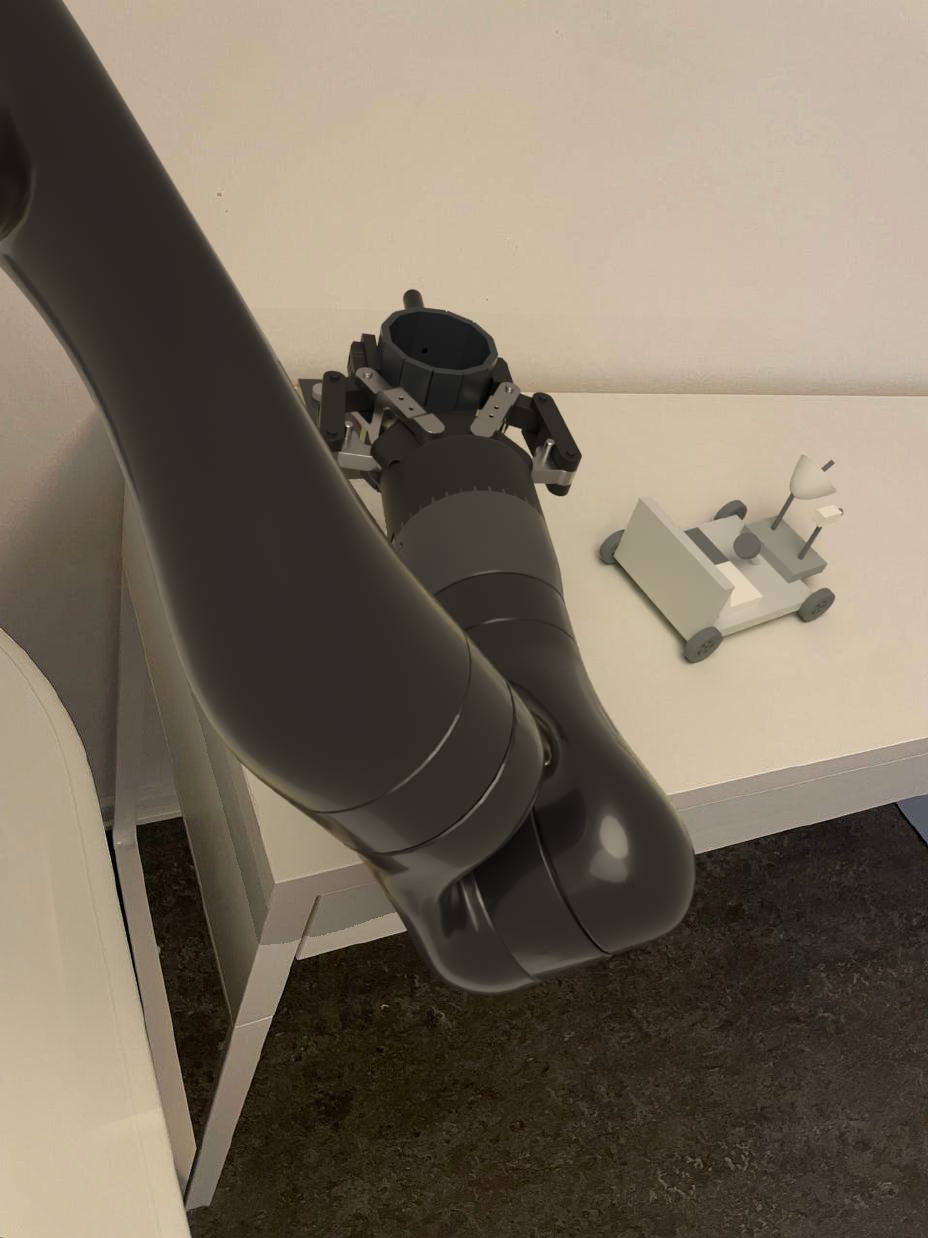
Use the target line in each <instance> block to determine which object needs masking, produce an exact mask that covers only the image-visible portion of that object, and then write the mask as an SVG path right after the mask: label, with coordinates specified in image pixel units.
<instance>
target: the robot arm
mask: <svg viewBox="0 0 928 1238" xmlns="http://www.w3.org/2000/svg"><path fill="white" fill-rule="evenodd" d="M0 269H1V270H2V271H3V272H4V273H5V274H6V276H7V277H8V278H9V279H10V280H11V281H12V282H13V283H14V284H15V287H17V288H18V289H19V291H20V292H21V293H22V294H23V296H24V297H25V298H26V299H27V301H28V302H29V303H30V304H31V306H32V307H33V308H34V309H35V311H36V312H37V313H38V315H40V317H41V318H42V320H43V321H44V323H45V324H46V326H47V327H48V329H49V330H50V332H52V334H53V336H54V337H55V338H56V340H57V341H58V343H59V344H60V346H61V348H63V351H64V352H65V354H66V356H67V357H68V359H69V360H70V362H71V364H72V366H73V367H74V369H75V370H76V372H77V374H78V375H79V377H80V379H81V381H82V382H83V384H84V386H85V388H86V390H87V392H88V395H89V397H90V399H91V400H92V403H93V405H94V406H95V408H96V410H97V411H96V412H97V413H98V415H99V417H100V419H101V421H102V424H103V427H104V430H105V431H106V435H107V437H108V439H109V442H110V445H111V447H112V449H113V453H114V455H115V458H116V460H117V463H118V465H119V468H120V471H121V473H122V476H123V478H124V481H125V483H126V486H127V490H128V493H129V496H130V499H131V503H132V507H133V510H134V512H135V516H136V519H137V522H138V523H137V524H138V525H139V529H140V532H141V535H142V538H143V543H144V546H145V549H146V553H147V557H148V560H149V564H150V565H149V566H150V568H151V571H152V576H153V579H154V583H155V587H156V590H157V594H158V597H159V601H160V605H161V607H162V610H163V614H164V618H165V621H166V623H167V626H168V630H169V634H170V637H171V640H172V643H173V647H174V650H175V652H176V656H177V659H178V662H179V665H180V667H181V669H182V672H183V674H184V677H185V680H186V682H187V684H188V686H189V689H190V690H191V693H192V695H193V696H194V699H195V700H196V701H195V702H197V705H198V707H199V708H200V710H201V711H202V713H203V715H204V716H205V718H206V719H207V722H209V724H210V725H211V727H212V729H213V730H214V732H215V733H216V735H217V736H218V737H219V739H220V740H221V742H222V743H223V744H224V745H225V746H226V747H227V749H228V750H229V751H230V752H231V754H232V755H233V756H234V757H235V758H236V760H237V761H238V762H239V763H240V764H241V765H242V766H243V767H244V768H246V770H248V771H249V772H250V773H251V774H252V775H253V776H254V777H255V778H256V779H257V780H259V781H260V782H261V783H263V784H264V786H266V787H268V788H269V789H271V791H273V792H274V793H276V794H277V795H278V796H279V797H281V798H282V799H283V800H285V801H286V802H287V803H288V804H290V805H291V806H292V807H294V808H295V809H296V810H298V811H299V812H301V814H303V815H304V816H306V817H307V818H308V819H310V821H312V822H313V823H315V824H316V825H317V826H319V827H320V828H321V829H323V830H324V831H325V832H327V833H328V834H329V835H330V836H332V837H333V838H335V839H336V840H337V841H339V842H340V843H341V844H343V845H344V846H345V847H347V848H348V849H350V850H351V851H353V852H354V853H355V854H356V855H357V856H358V857H359V859H360V860H361V862H362V863H363V865H364V866H365V868H366V869H367V871H368V872H369V873H370V875H371V876H372V877H373V879H374V881H375V882H376V884H377V885H378V886H379V888H380V889H381V891H382V893H383V894H384V896H385V897H386V898H387V900H388V902H389V903H390V905H391V907H392V908H393V909H394V911H395V912H396V914H397V915H398V918H399V919H400V921H401V922H402V924H403V926H404V928H405V929H406V931H407V934H408V935H409V937H410V939H411V941H412V943H413V945H414V947H415V949H416V951H417V952H418V954H419V957H420V958H421V959H422V961H423V963H424V964H425V965H426V967H427V968H428V969H429V971H430V972H431V974H432V975H434V976H435V977H436V978H438V980H439V981H440V982H441V983H443V984H445V985H447V986H449V987H450V988H452V989H455V990H456V991H460V992H463V993H466V994H470V995H477V996H483V997H497V996H498V997H501V996H506V995H511V994H514V993H518V992H522V991H524V990H526V989H529V988H532V987H536V986H537V985H540V984H543V983H545V982H547V981H551V980H553V979H556V978H559V977H561V976H564V975H566V974H567V975H568V973H572V972H575V971H577V970H580V969H582V968H585V967H588V966H590V965H593V964H595V963H598V962H601V961H603V960H607V959H609V958H611V957H613V956H617V955H620V954H623V953H626V952H629V951H632V950H634V949H637V948H640V947H642V946H645V945H648V944H650V943H653V942H655V941H657V940H659V939H661V938H663V937H665V936H667V935H668V934H669V933H672V932H673V930H674V929H676V928H677V927H678V926H679V925H680V924H681V923H682V921H683V920H684V918H685V917H686V915H687V913H688V912H689V909H690V906H691V903H692V900H693V898H694V894H695V888H696V883H697V859H696V852H695V848H694V844H693V841H692V838H691V834H690V833H689V830H688V828H687V826H686V823H685V822H684V820H683V817H682V816H681V814H680V813H679V811H678V810H677V808H676V806H675V805H674V804H673V802H672V800H671V799H670V796H668V794H667V792H665V790H664V789H663V787H662V786H661V785H660V783H659V782H658V780H657V779H656V778H655V777H654V775H653V774H652V773H651V771H650V770H649V769H648V767H647V766H646V765H645V764H644V762H643V761H642V760H641V759H640V757H639V756H638V754H637V753H636V752H635V751H634V749H633V748H632V747H631V745H630V744H629V743H628V741H627V740H626V739H625V737H624V736H623V735H622V733H621V732H620V730H619V729H618V728H617V726H616V724H615V722H614V721H613V720H612V717H610V714H609V713H608V712H607V709H606V708H605V706H604V705H603V703H602V701H601V699H600V696H599V695H598V693H597V691H596V689H595V687H594V685H593V682H592V681H591V678H590V676H589V673H588V672H587V671H588V670H587V669H586V666H585V663H584V660H583V657H582V654H581V651H580V647H579V644H578V640H577V637H576V635H575V631H574V628H573V625H572V621H571V618H570V614H569V612H568V608H567V605H566V600H565V595H564V586H563V578H562V573H561V566H560V564H559V560H558V557H557V553H556V550H555V547H554V546H555V545H554V543H553V540H552V537H551V533H550V530H549V527H548V524H547V521H546V518H545V515H544V511H543V508H542V505H541V502H540V498H539V494H538V492H537V489H536V486H535V485H537V484H538V485H539V484H540V485H541V484H544V485H545V487H546V490H547V491H548V492H549V493H550V494H552V495H554V496H556V497H566V496H567V495H568V494H569V492H570V489H571V487H572V484H573V481H574V479H575V477H576V473H577V471H578V468H579V465H580V463H581V460H582V458H583V455H582V452H581V451H580V448H579V447H578V445H577V442H576V441H575V439H574V437H573V435H572V433H571V431H570V429H569V427H568V425H567V423H566V421H565V419H564V417H563V415H562V413H561V411H560V409H559V407H558V406H557V404H556V402H555V399H554V398H553V396H551V395H550V394H548V393H546V392H543V391H537V392H534V393H533V394H532V396H529V395H526V394H523V393H521V392H522V391H521V388H520V387H519V386H518V385H517V384H515V383H514V380H513V377H512V374H511V371H510V368H509V365H508V362H507V361H506V360H505V359H504V357H500V356H498V358H497V362H496V365H495V368H494V372H493V375H492V379H491V382H490V386H489V389H488V393H487V396H486V400H485V403H484V407H483V409H482V410H481V412H480V414H479V415H478V416H475V415H474V412H472V411H462V410H457V411H442V410H438V409H434V408H430V407H421V406H420V405H419V404H418V403H417V402H416V401H415V400H414V399H413V398H412V397H411V396H410V395H409V394H408V393H407V392H406V391H405V390H404V389H403V388H402V387H400V386H397V387H393V388H392V387H391V386H390V385H389V384H388V383H387V382H386V381H385V380H384V379H383V378H382V377H381V376H380V374H381V364H380V362H379V357H378V351H377V345H378V341H377V337H376V334H372V333H365V332H362V333H361V336H360V340H359V341H358V340H353V341H352V342H351V344H350V346H349V351H348V359H347V365H346V370H347V376H346V375H345V374H344V373H342V372H341V371H338V370H328V371H327V370H326V371H325V372H324V373H323V374H322V379H323V380H322V392H321V399H320V404H319V407H318V413H317V425H316V424H315V422H314V420H313V418H312V417H311V415H310V413H309V412H308V410H307V408H306V406H305V405H304V403H303V401H302V400H301V398H300V396H299V394H298V393H297V388H296V387H295V386H294V384H293V382H292V380H291V378H290V377H289V375H288V373H287V371H286V369H285V367H284V365H283V364H282V362H281V360H280V358H279V357H278V355H277V354H276V352H275V350H274V348H273V346H272V345H271V342H270V341H269V339H268V337H267V336H266V334H265V332H264V331H263V329H262V327H261V325H260V324H259V322H258V320H257V319H256V317H255V315H254V313H253V312H252V310H251V308H250V307H249V305H248V304H247V302H246V300H245V298H244V297H243V295H242V294H241V292H240V290H239V289H238V286H237V285H236V283H235V282H234V280H233V278H232V276H231V274H230V273H229V272H228V270H227V268H226V267H225V265H224V263H223V262H222V260H221V258H220V257H219V255H218V253H217V251H216V250H215V248H214V247H213V245H212V244H211V242H210V241H209V239H208V237H207V236H206V234H205V232H204V230H203V229H202V227H201V225H200V224H199V222H198V220H197V219H196V217H195V215H194V214H193V212H192V211H191V209H190V207H189V206H188V204H187V202H186V200H185V199H184V197H183V195H182V194H181V192H180V191H179V189H178V187H177V186H176V184H175V182H174V181H173V179H172V177H171V175H170V174H169V172H168V170H167V168H166V167H165V165H164V164H163V162H162V160H161V158H160V157H159V155H158V153H157V152H156V150H155V148H154V147H153V145H152V143H151V142H150V140H149V138H148V136H147V135H146V134H145V132H144V130H143V128H142V126H141V125H140V123H139V121H138V120H137V118H136V117H135V115H134V113H133V112H132V110H131V109H130V107H129V105H128V104H127V102H126V100H125V99H124V97H123V95H122V94H121V91H120V90H119V89H118V87H117V86H116V84H115V82H114V81H113V79H112V77H111V75H110V74H109V73H108V71H107V69H106V68H105V65H104V64H103V62H102V61H101V59H100V57H99V56H98V54H97V52H96V50H95V49H94V48H93V45H92V44H91V42H90V41H89V39H88V37H87V36H86V34H85V32H84V31H83V30H82V28H81V26H80V25H79V24H78V22H77V21H76V19H75V17H74V15H73V14H72V12H71V11H70V10H69V8H68V6H67V5H66V3H65V1H64V0H0ZM374 404H375V406H374ZM350 412H351V414H352V415H353V416H354V417H355V418H356V419H357V420H358V421H359V422H360V423H361V424H362V425H363V426H364V427H365V429H366V430H367V431H368V434H369V439H370V442H371V444H372V446H369V445H366V444H364V443H362V442H361V441H360V439H359V437H358V434H357V433H356V432H355V431H353V426H354V424H353V423H352V422H351V421H345V413H350ZM510 427H512V428H516V429H520V433H521V435H522V437H523V439H524V442H525V444H526V446H527V448H528V450H529V451H528V452H529V453H530V454H529V453H528V452H527V450H525V449H524V448H523V447H521V446H520V445H519V444H517V443H516V442H515V441H513V440H512V439H511V438H510V437H508V435H506V434H507V432H508V430H509V429H510ZM341 467H342V468H349V469H356V470H363V471H368V474H369V476H370V478H371V479H372V480H373V481H374V482H375V483H376V484H377V485H378V487H379V488H380V491H381V493H380V496H381V504H382V511H383V517H384V522H385V529H386V533H385V531H384V530H383V529H382V527H381V526H380V524H379V523H378V522H377V520H376V518H375V517H374V516H373V514H372V513H371V512H370V510H369V509H368V507H367V505H366V504H365V502H364V501H363V499H362V497H361V496H360V495H359V493H358V492H357V490H356V489H355V487H354V485H353V483H352V482H351V481H350V478H347V476H346V475H345V473H344V471H343V470H342V468H341Z"/></svg>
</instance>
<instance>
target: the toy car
mask: <svg viewBox="0 0 928 1238" xmlns="http://www.w3.org/2000/svg"><path fill="white" fill-rule="evenodd" d="M835 464H836V463H835V461H834V460H833V459H830V460H829V461H828V462H827V463H826V464H824V465H823V466H822V467H820V466H819V465H818V464H817V463H816V462H815V460H813V459H812V458H811V457H809V456H808V455H806V454H803V453H801V455H800V457H799V459H798V461H797V463H796V465H795V466H794V469H793V471H792V473H791V474H792V475H791V477H790V481H789V492H790V494H789V495H788V497H787V500H786V501H785V502H784V504H783V506H782V508H781V510H780V511H779V513H778V515H774V516H770V517H767V518H763V519H759V520H756V521H752V522H749V523H745V522H744V519H745V518H746V516H747V513H748V507H747V506H746V504H745V503H743V502H742V501H741V500H740V499H734V500H731V501H728V502H727V503H726V504H725V505H723V506H722V507H721V508H720V509H719V510H718V511H717V512H716V514H715V515H714V517H713V520H711V521H707V522H703V523H700V524H696V525H692V526H688V527H684V528H681V527H680V526H679V525H678V524H677V523H676V521H674V519H673V518H672V517H671V516H670V515H669V514H668V513H667V512H666V511H665V510H664V509H663V508H662V507H661V506H660V504H658V502H657V501H656V500H655V499H654V497H652V496H651V495H650V494H648V495H644V496H641V497H639V498H638V500H637V502H636V503H635V506H634V509H633V511H632V513H631V515H630V517H629V520H628V522H627V523H626V526H625V529H624V528H623V529H619V530H617V531H615V532H613V533H611V534H610V535H608V537H607V538H606V539H604V541H603V542H602V543H601V545H600V547H599V549H598V555H599V557H600V558H601V559H602V561H603V562H604V563H605V564H607V565H615V564H617V563H619V565H620V566H621V567H622V568H623V569H624V570H625V571H626V572H627V574H628V575H629V576H630V577H631V578H632V580H633V581H634V582H635V583H636V584H637V586H638V587H639V588H640V589H641V590H642V591H643V593H645V595H646V596H647V598H649V599H650V600H651V602H652V603H653V604H654V605H655V606H656V607H657V608H658V610H659V611H660V612H661V613H662V614H663V615H664V616H665V618H666V619H667V620H668V621H669V622H670V623H671V625H672V626H673V627H674V628H675V629H676V631H677V632H678V633H679V634H680V635H681V636H682V637H683V638H684V640H685V641H686V644H684V647H683V649H682V650H683V655H684V656H685V658H686V659H687V660H688V661H689V662H691V663H698V662H701V661H703V660H705V659H707V658H708V657H710V656H711V655H712V654H713V653H715V651H717V649H718V648H719V646H721V644H722V642H723V638H724V637H726V636H729V635H732V634H734V633H737V632H740V631H742V630H746V629H749V628H752V627H755V626H757V625H760V624H763V623H766V622H769V621H771V620H774V619H778V618H780V617H782V616H786V615H788V614H793V613H794V612H797V611H798V612H797V613H798V615H799V616H800V617H801V619H802V620H803V621H805V622H812V621H815V620H816V619H818V618H820V617H821V616H823V615H824V614H825V613H827V611H828V610H829V609H830V608H831V607H832V605H833V604H834V602H835V600H836V595H835V594H834V592H833V591H832V590H831V589H830V588H828V587H821V588H819V589H818V590H817V589H816V591H814V592H813V590H811V589H810V587H808V585H807V584H805V583H804V582H803V579H807V578H810V577H812V576H815V575H818V574H822V573H823V572H824V570H825V569H826V568H827V566H828V564H829V563H828V562H827V561H826V560H825V559H824V558H823V557H822V556H821V555H820V554H819V553H818V552H817V551H816V550H815V549H813V547H812V545H813V544H814V542H815V540H816V539H817V537H818V535H819V534H820V532H821V531H822V529H823V527H827V526H829V525H832V524H836V523H837V522H838V521H839V520H840V518H841V517H842V516H843V515H844V509H843V508H841V507H839V508H838V507H837V506H836V505H835V504H830V505H827V506H823V507H820V508H816V509H815V511H814V512H813V514H812V516H811V517H810V521H811V522H812V523H814V524H815V525H816V527H815V528H814V530H813V532H812V533H811V535H810V537H809V538H808V540H807V541H806V540H805V539H803V537H802V536H800V535H799V534H798V533H797V532H796V531H795V530H794V528H792V527H791V526H790V525H789V524H788V523H787V522H786V521H785V520H784V519H783V518H784V516H785V514H786V513H787V511H788V509H789V508H790V506H791V504H792V503H793V501H794V499H797V500H802V501H803V500H804V501H806V500H807V501H808V500H815V499H820V498H823V497H827V496H830V495H833V494H836V493H837V488H836V486H835V484H834V483H833V481H832V480H831V478H830V477H829V476H828V475H827V473H826V472H827V471H828V470H829V469H830V468H831V467H833V466H835Z"/></svg>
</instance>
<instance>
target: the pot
mask: <svg viewBox="0 0 928 1238" xmlns="http://www.w3.org/2000/svg"><path fill="white" fill-rule="evenodd" d="M402 304H403V308H404V309H400V310H395V311H394V312H393V311H392V313H391V314H390V315H389V316H388V317H387V318H386V319H385V320H384V321H383V322H382V323H381V325H380V328H379V329H380V330H379V334H378V340H377V351H378V357H379V362H380V364H381V374H380V376H381V377H382V378H383V379H384V380H385V381H386V382H387V383H388V384H389V385H390V386H391V387H392V388H393V387H397V386H400V387H402V388H403V389H404V390H405V391H406V392H407V393H408V394H409V395H410V396H411V397H412V398H413V399H414V400H415V401H416V402H417V403H418V404H419V405H420V406H421V407H430V408H434V409H438V410H442V411H457V410H462V411H472V412H474V415H475V416H478V415H479V414H480V412H481V410H482V409H483V407H484V403H485V400H486V396H487V393H488V389H489V386H490V382H491V379H492V375H493V372H494V368H495V365H496V362H497V358H498V357H499V352H498V348H497V345H496V342H495V339H494V337H493V336H492V335H490V333H488V332H487V331H486V330H485V329H484V328H483V327H482V326H480V325H479V324H478V323H477V322H475V321H473V320H472V319H470V318H468V317H464V316H462V315H459V314H457V313H455V312H452V311H450V310H446V309H439V308H434V307H433V308H432V307H426V306H425V303H424V298H423V295H422V293H421V292H420V291H419V290H418V289H414V288H410V289H407V291H405V292H404V294H403V297H402ZM374 406H375V404H374ZM360 441H361V442H362V443H364V444H366V445H369V446H372V444H371V442H370V439H369V434H368V431H367V430H366V429H365V427H364V426H363V425H362V429H361V434H360ZM358 472H359V473H360V476H361V477H362V478H361V479H362V480H364V481H365V483H367V484H368V486H369V487H371V488H372V489H373V490H374V491H376V492H377V493H379V494H381V491H380V488H379V487H378V485H377V484H376V483H375V482H374V481H373V480H372V479H371V478H370V476H369V474H368V471H363V470H358Z"/></svg>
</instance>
